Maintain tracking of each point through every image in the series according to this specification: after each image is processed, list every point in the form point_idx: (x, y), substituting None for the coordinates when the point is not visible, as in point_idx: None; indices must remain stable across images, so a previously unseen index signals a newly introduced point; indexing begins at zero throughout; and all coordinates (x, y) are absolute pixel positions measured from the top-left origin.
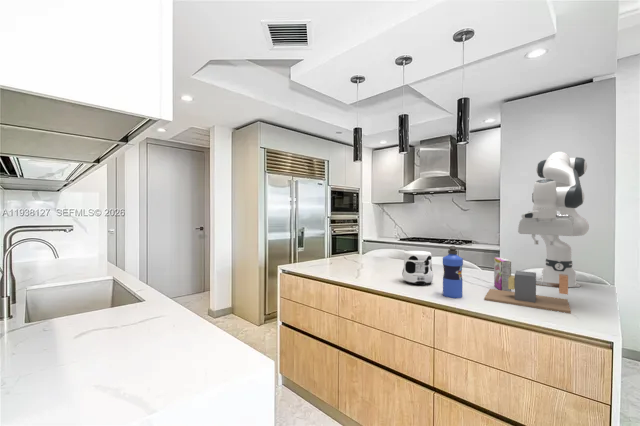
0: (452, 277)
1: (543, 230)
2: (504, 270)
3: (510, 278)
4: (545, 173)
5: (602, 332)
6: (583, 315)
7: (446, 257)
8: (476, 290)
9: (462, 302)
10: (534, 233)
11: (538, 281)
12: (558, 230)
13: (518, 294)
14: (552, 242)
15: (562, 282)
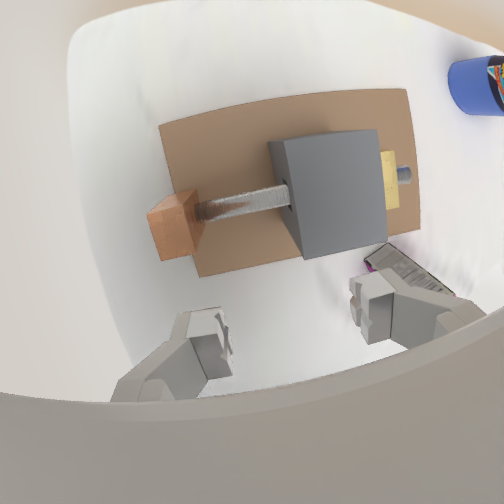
0: (501, 56)
1: (369, 453)
2: (422, 280)
3: (384, 150)
4: None
5: (87, 31)
6: (131, 138)
7: None
8: (444, 198)
9: (426, 32)
10: (487, 322)
11: (277, 194)
12: (40, 469)
13: (327, 132)
14: (191, 328)
15: (176, 201)
